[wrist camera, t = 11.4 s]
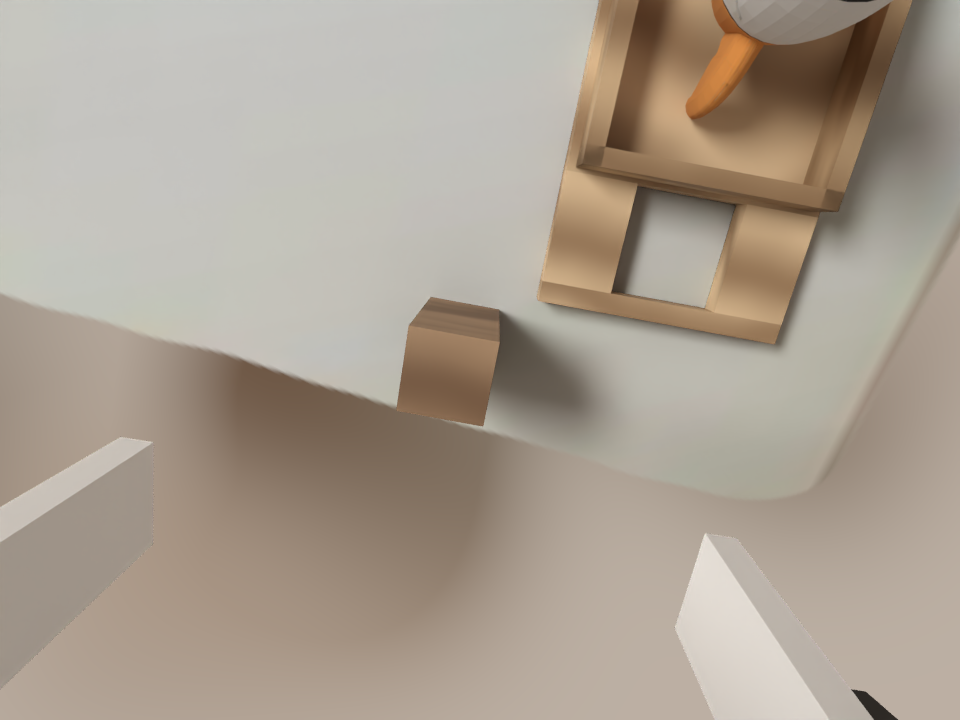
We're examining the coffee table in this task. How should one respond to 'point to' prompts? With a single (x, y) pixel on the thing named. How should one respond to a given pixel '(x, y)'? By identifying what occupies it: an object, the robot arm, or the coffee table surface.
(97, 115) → the coffee table surface
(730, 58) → the toy rocket
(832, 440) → the coffee table surface
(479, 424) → the block
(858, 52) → the tray
